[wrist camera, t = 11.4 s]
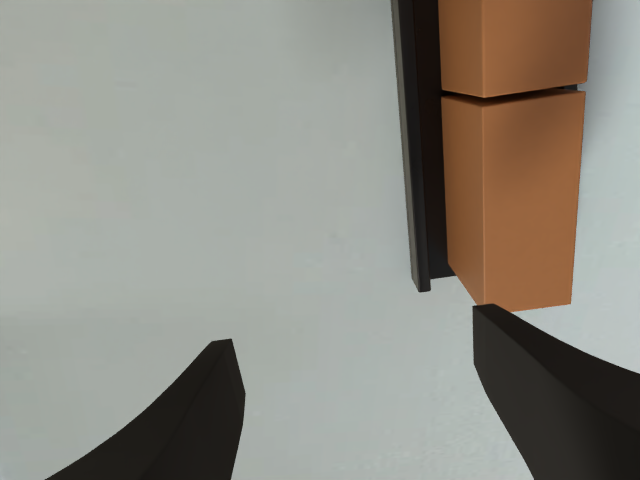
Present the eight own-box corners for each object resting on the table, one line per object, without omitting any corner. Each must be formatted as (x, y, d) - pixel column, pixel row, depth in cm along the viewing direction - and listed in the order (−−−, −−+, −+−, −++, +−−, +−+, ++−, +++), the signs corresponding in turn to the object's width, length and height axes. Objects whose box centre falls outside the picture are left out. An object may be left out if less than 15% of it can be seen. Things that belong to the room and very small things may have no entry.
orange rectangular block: (519, 84, 19) (586, 90, 15) (516, 254, 22) (571, 304, 18) (440, 96, 19) (482, 106, 15) (447, 263, 22) (484, 316, 18)
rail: (570, -178, 16) (596, -202, 15) (549, 259, 23) (566, 273, 21) (379, -146, 17) (386, -167, 15) (411, 278, 23) (418, 293, 22)
